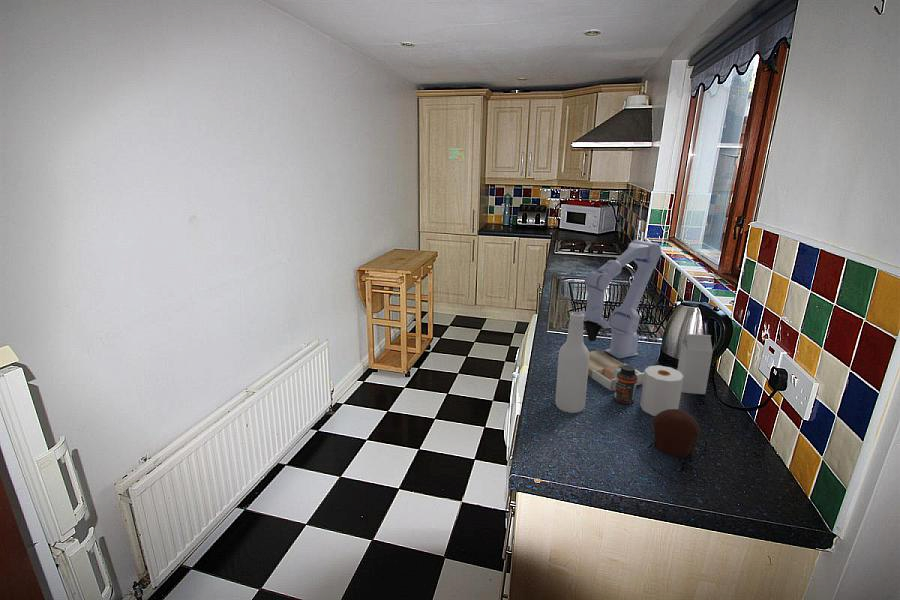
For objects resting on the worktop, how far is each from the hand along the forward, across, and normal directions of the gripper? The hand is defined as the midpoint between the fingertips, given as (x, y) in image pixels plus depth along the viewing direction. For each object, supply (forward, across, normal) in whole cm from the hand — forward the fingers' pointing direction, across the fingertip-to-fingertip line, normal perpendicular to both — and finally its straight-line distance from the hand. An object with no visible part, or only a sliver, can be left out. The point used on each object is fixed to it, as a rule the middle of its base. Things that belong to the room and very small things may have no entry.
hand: (592, 340), depth 164 cm
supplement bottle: (+9, +26, -7) cm, 29 cm away
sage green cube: (+6, +16, 0) cm, 17 cm away
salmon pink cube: (+9, +13, 0) cm, 16 cm away
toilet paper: (+9, +34, -2) cm, 36 cm away
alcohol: (+9, +23, -25) cm, 35 cm away
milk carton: (+9, +28, +18) cm, 35 cm away
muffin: (+9, +50, -13) cm, 53 cm away
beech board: (+9, +3, 0) cm, 10 cm away
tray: (+9, +15, 0) cm, 18 cm away
